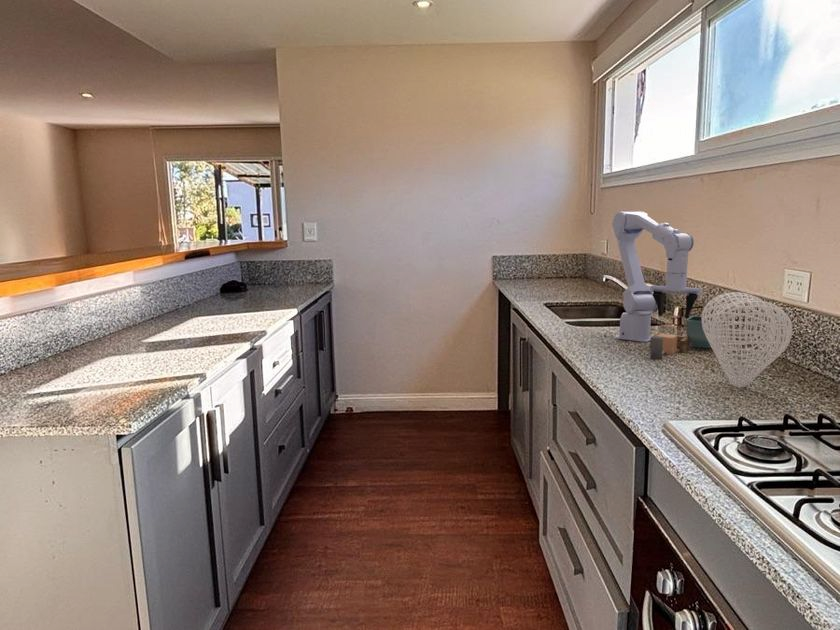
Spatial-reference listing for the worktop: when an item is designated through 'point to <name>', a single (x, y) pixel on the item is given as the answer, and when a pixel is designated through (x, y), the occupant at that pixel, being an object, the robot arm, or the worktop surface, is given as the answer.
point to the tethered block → (663, 345)
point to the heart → (769, 335)
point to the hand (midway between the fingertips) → (673, 316)
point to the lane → (680, 342)
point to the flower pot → (697, 332)
